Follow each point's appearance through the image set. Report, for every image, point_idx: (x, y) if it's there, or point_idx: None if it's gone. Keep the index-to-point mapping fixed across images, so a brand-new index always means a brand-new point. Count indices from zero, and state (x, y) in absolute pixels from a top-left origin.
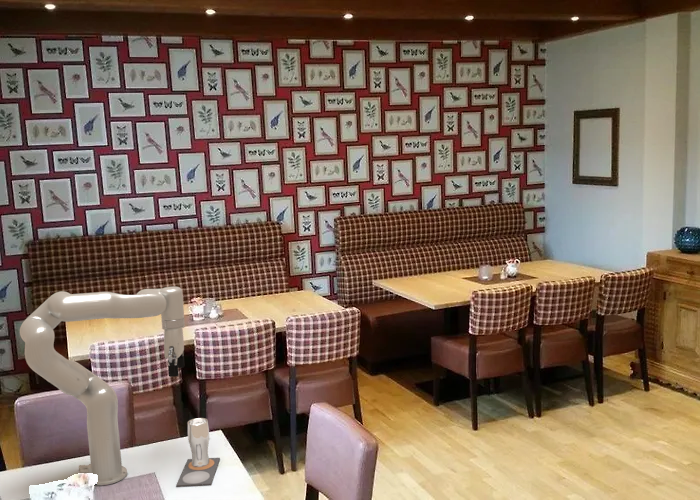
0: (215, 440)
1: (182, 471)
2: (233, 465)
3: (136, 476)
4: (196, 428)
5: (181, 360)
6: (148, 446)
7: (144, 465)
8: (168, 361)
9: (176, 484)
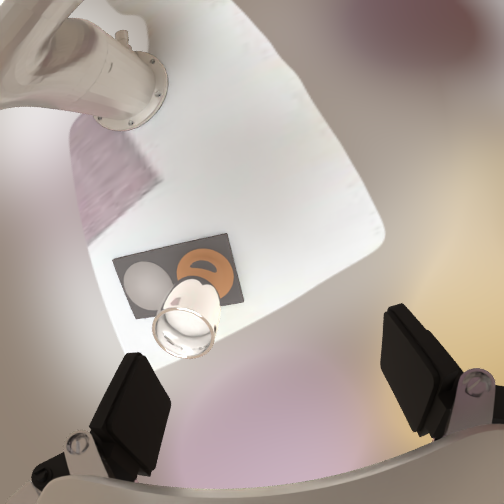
0: (342, 255)
1: (165, 248)
2: (219, 332)
3: (136, 151)
4: (157, 333)
5: (405, 399)
6: (298, 98)
7: (189, 138)
8: (34, 472)
9: (114, 259)
